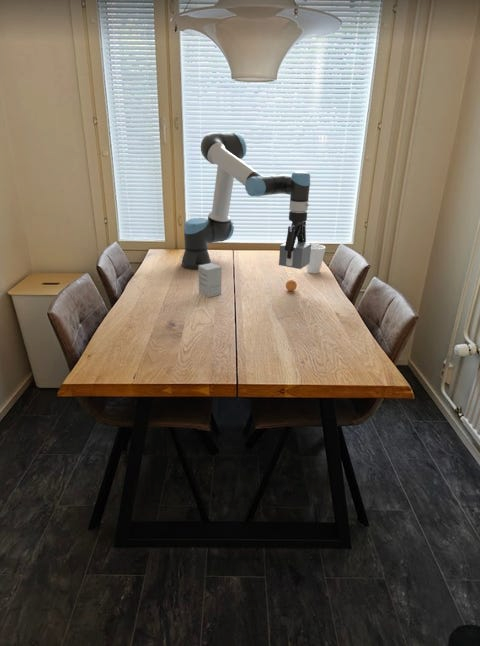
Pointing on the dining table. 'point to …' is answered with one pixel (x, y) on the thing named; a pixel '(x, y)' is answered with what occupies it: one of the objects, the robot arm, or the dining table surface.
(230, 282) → the dining table surface
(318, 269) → the foam cup
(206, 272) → the supplement box
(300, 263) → the grey square block
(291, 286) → the orange egg
